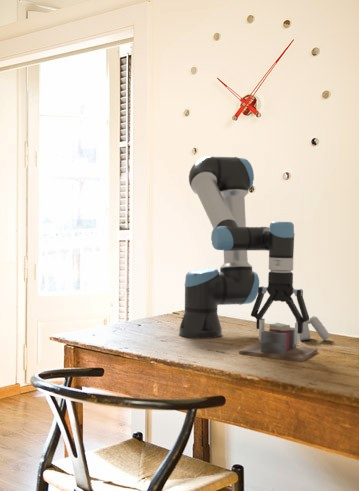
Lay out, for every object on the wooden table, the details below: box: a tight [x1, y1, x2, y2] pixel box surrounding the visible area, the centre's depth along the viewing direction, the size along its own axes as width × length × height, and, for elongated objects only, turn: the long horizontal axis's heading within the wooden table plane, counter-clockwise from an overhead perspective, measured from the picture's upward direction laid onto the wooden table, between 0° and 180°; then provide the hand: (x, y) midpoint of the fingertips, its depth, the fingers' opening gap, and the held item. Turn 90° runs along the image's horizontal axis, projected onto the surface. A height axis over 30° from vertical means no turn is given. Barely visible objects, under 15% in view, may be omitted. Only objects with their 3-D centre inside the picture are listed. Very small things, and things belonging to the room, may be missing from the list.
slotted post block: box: [238, 327, 318, 363], centre depth 199 cm, size 20×16×7 cm
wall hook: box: [295, 313, 332, 342], centre depth 221 cm, size 8×10×10 cm
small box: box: [268, 322, 291, 350], centre depth 199 cm, size 5×4×8 cm
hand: (279, 341), depth 199 cm, fingers open, 11 cm apart
